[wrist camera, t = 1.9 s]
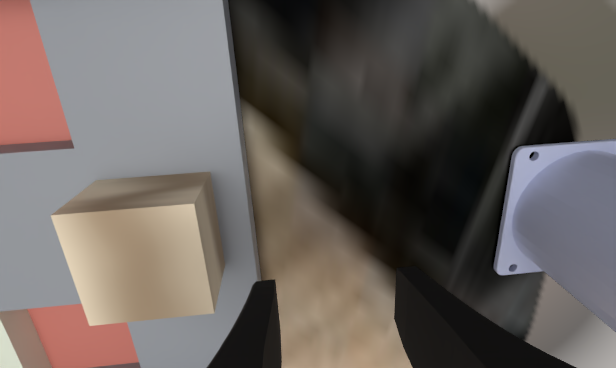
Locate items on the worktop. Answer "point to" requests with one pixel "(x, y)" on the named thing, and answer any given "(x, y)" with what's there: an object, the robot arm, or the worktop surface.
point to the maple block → (143, 247)
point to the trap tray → (114, 164)
